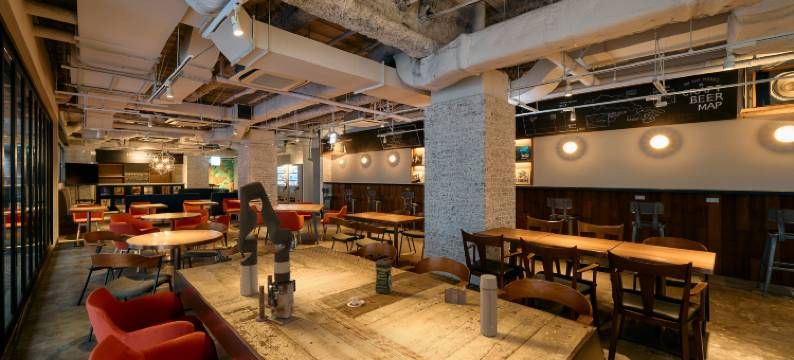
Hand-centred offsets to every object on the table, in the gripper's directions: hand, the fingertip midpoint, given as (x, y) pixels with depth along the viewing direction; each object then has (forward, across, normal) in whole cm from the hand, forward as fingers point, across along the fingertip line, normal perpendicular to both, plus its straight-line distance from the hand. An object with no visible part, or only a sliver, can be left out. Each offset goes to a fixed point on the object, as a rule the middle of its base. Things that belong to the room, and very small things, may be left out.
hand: (282, 304), depth 172 cm
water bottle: (+7, +40, -88) cm, 97 cm away
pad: (+7, 0, 0) cm, 7 cm away
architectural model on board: (+8, +66, -59) cm, 89 cm away
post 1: (+7, -6, +8) cm, 12 cm away
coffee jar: (+7, +58, -17) cm, 61 cm away
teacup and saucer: (+8, +33, -19) cm, 38 cm away
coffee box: (+5, 0, 0) cm, 6 cm away
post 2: (+7, +7, +20) cm, 22 cm away
